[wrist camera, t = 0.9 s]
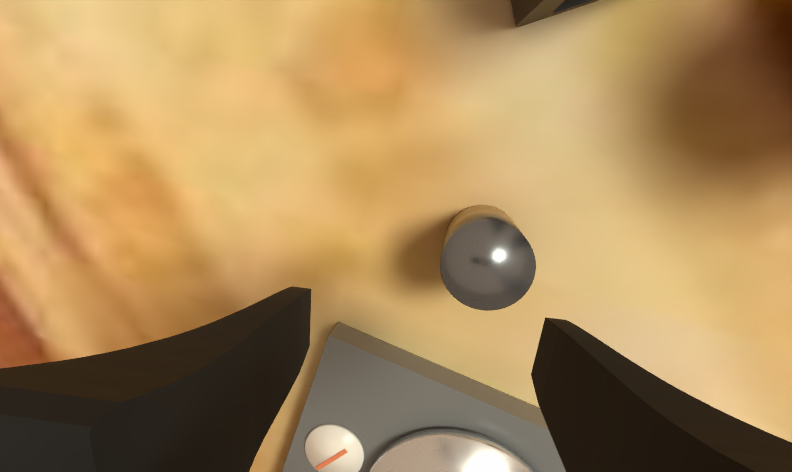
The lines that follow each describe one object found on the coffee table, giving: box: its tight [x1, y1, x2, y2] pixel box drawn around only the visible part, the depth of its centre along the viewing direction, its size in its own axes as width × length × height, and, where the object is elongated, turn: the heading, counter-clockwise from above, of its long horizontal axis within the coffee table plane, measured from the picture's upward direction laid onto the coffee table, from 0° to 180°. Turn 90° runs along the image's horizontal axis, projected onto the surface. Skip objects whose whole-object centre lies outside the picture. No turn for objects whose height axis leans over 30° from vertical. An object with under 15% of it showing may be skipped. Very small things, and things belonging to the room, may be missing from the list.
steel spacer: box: [440, 205, 536, 310], centre depth 21 cm, size 4×4×6 cm
